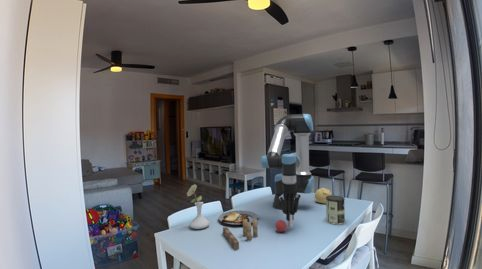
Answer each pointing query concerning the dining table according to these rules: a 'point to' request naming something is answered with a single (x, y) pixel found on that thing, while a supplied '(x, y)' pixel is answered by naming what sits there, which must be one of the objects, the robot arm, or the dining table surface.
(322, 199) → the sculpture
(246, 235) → the pin
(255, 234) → the front pin
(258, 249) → the dining table surface
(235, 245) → the back wall
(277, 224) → the ball
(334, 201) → the coffee can
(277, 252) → the dining table surface
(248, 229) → the pin
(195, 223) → the flower in vase
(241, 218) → the food plate
